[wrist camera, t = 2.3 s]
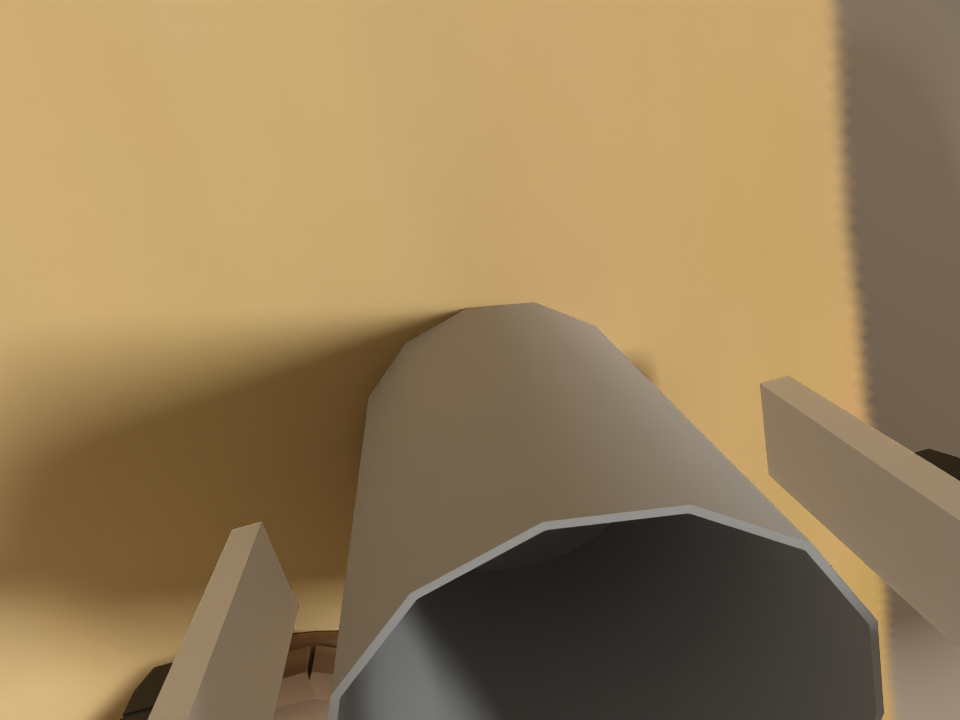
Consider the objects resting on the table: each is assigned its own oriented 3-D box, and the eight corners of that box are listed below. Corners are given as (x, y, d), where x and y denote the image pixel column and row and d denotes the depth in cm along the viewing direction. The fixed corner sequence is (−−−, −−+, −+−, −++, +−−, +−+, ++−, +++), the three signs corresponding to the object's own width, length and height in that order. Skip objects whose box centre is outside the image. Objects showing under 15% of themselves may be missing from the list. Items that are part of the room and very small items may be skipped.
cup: (531, 599, 21) (639, 987, 11) (307, 484, 18) (208, 853, 9) (699, 398, 19) (993, 661, 9) (475, 242, 16) (570, 386, 7)
